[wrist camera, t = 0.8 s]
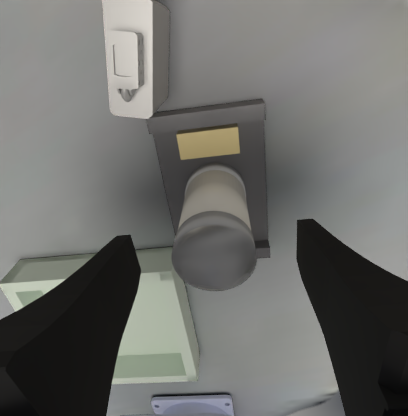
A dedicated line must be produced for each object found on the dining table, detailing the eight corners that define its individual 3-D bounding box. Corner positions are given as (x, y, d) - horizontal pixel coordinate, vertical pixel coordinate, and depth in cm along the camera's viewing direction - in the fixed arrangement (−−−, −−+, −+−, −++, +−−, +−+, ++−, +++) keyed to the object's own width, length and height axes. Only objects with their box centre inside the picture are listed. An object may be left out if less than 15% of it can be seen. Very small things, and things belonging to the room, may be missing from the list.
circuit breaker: (168, 100, 16) (128, 148, 9) (135, 97, 16) (71, 143, 9) (172, -79, 12) (113, -226, 5) (130, -83, 12) (18, -235, 5)
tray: (199, 352, 26) (198, 381, 24) (74, 358, 28) (62, 386, 25) (176, 246, 21) (171, 271, 19) (20, 259, 22) (-2, 284, 20)
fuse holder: (267, 246, 20) (270, 257, 19) (180, 253, 21) (178, 264, 20) (262, 98, 16) (265, 103, 15) (150, 113, 16) (145, 118, 15)
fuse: (246, 212, 19) (258, 288, 13) (191, 217, 19) (179, 293, 13) (242, 159, 17) (254, 219, 11) (181, 165, 17) (163, 228, 12)
